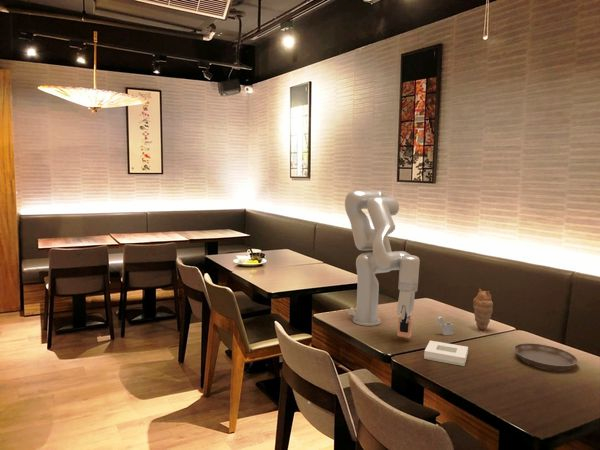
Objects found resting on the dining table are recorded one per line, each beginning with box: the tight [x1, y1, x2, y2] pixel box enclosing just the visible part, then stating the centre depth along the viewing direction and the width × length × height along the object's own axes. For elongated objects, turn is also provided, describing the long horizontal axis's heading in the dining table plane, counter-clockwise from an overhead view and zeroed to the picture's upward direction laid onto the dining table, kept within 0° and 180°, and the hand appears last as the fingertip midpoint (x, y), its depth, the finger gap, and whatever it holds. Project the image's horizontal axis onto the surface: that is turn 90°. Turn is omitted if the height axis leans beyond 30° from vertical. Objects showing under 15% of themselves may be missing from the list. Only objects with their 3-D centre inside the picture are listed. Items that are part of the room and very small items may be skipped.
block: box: [396, 316, 413, 339], centre depth 188 cm, size 5×3×7 cm, turn 65°
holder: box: [423, 340, 469, 367], centre depth 173 cm, size 14×12×3 cm
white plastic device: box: [436, 315, 454, 336], centre depth 197 cm, size 7×2×8 cm, turn 104°
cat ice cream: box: [472, 288, 494, 331], centre depth 203 cm, size 9×8×18 cm
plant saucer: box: [513, 342, 579, 372], centre depth 171 cm, size 21×21×3 cm
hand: (404, 330), depth 188 cm, fingers closed on block, 2 cm apart
